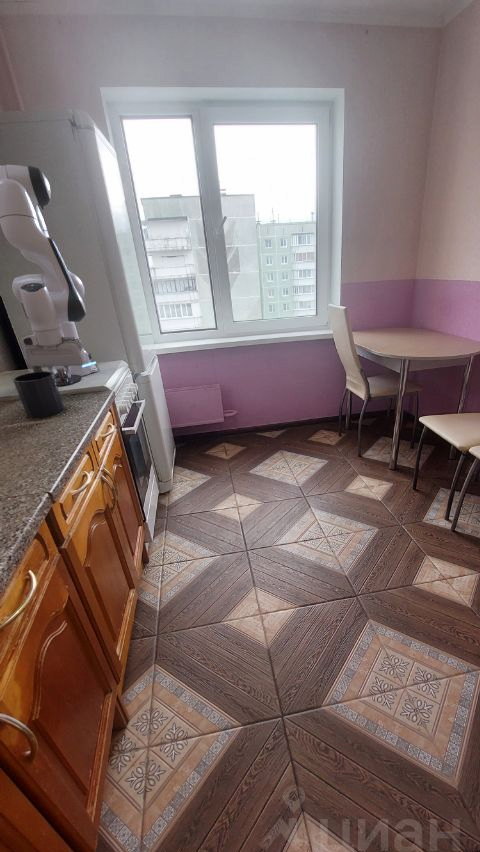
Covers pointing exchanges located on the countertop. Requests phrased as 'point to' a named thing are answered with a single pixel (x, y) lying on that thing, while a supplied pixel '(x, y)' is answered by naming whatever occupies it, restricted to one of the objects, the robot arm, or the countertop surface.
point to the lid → (66, 379)
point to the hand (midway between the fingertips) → (63, 377)
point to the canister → (39, 394)
